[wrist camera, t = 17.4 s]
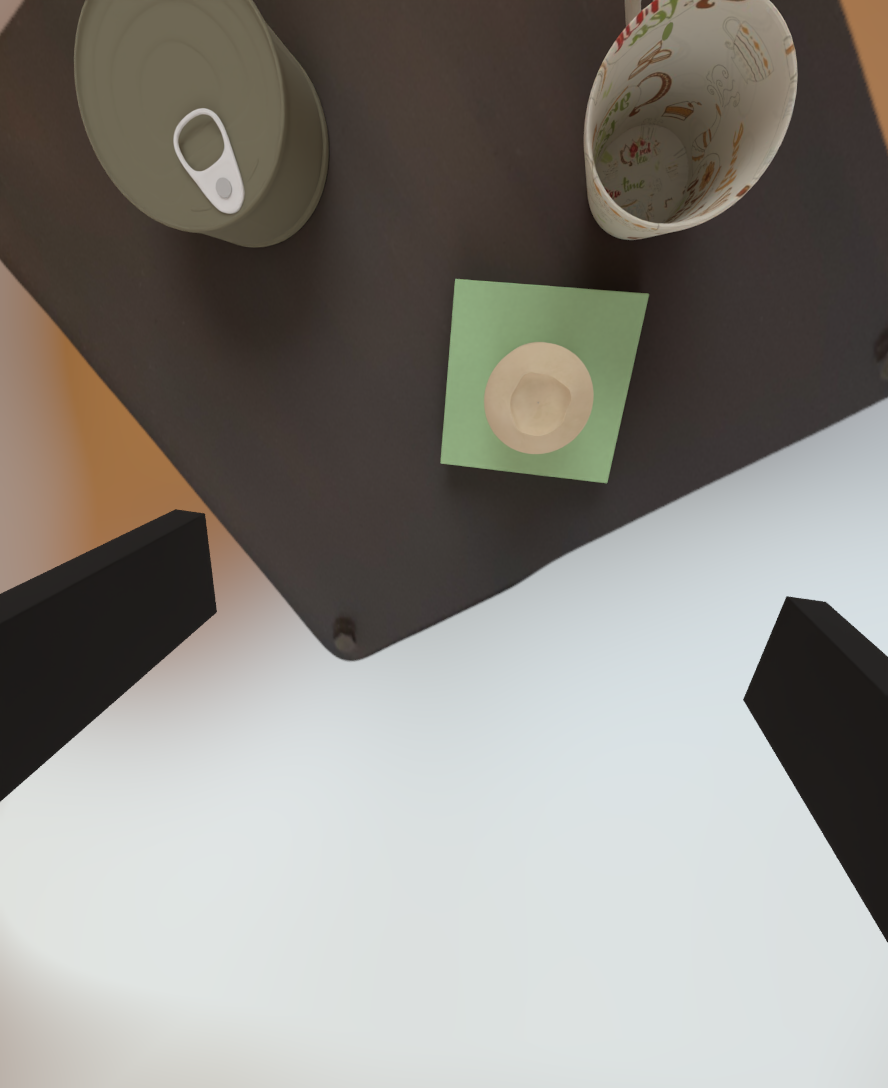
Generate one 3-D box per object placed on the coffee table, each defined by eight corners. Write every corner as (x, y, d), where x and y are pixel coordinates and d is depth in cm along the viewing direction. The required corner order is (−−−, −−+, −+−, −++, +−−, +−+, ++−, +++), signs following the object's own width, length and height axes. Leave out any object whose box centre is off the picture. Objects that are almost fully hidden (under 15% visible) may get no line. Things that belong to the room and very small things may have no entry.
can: (267, -26, 29) (194, -128, 22) (365, 191, 32) (325, 155, 26) (126, 101, 32) (29, 43, 26) (227, 284, 36) (163, 272, 29)
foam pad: (640, 296, 32) (649, 293, 30) (602, 474, 37) (607, 483, 34) (459, 282, 33) (454, 278, 31) (445, 456, 38) (440, 463, 36)
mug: (585, 282, 32) (607, 258, 23) (535, 50, 28) (538, -90, 19) (722, 229, 30) (807, 181, 21) (689, -30, 26) (776, -232, 17)
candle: (484, 356, 32) (468, 363, 23) (568, 330, 31) (585, 326, 22) (505, 437, 34) (497, 472, 25) (584, 415, 33) (607, 444, 24)
